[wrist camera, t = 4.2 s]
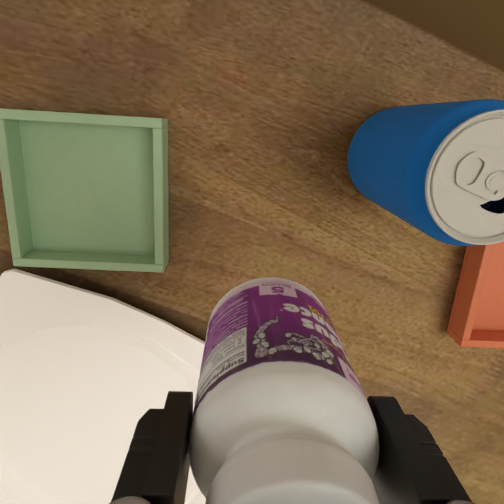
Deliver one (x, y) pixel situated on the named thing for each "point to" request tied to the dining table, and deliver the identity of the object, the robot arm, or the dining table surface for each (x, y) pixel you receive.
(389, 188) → the beverage can
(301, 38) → the dining table surface
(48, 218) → the green tray
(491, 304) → the terracotta tray
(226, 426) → the pill bottle
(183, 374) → the plate
